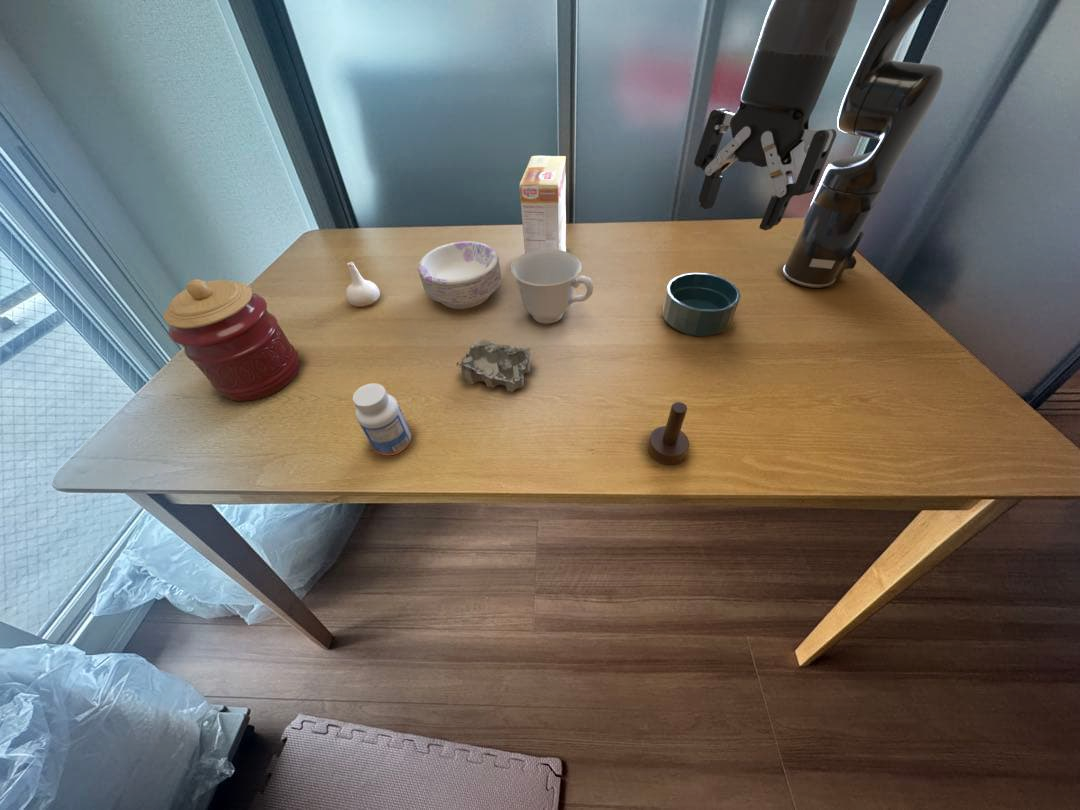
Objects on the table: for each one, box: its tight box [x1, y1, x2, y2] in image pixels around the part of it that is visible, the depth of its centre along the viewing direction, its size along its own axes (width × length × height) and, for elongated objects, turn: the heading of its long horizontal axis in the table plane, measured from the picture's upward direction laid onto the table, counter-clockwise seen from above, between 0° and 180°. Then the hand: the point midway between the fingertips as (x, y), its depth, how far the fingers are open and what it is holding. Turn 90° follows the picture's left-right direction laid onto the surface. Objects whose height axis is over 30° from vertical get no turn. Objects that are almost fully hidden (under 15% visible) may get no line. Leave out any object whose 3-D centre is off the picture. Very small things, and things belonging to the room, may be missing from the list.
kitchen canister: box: [163, 279, 301, 402], centre depth 63 cm, size 13×13×18 cm
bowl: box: [661, 272, 742, 337], centre depth 73 cm, size 12×12×6 cm
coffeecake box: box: [518, 155, 567, 254], centre depth 83 cm, size 15×7×20 cm, turn 172°
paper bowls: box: [417, 240, 502, 310], centre depth 81 cm, size 15×15×8 cm
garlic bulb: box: [345, 261, 381, 307], centre depth 81 cm, size 6×6×8 cm
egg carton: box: [456, 339, 532, 392], centre depth 66 cm, size 11×8×4 cm
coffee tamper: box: [647, 401, 690, 466], centre depth 53 cm, size 5×5×8 cm
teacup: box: [510, 249, 594, 325], centre depth 74 cm, size 12×15×10 cm
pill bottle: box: [352, 382, 412, 456], centre depth 55 cm, size 6×5×10 cm
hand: (734, 217), depth 52 cm, fingers open, 8 cm apart
